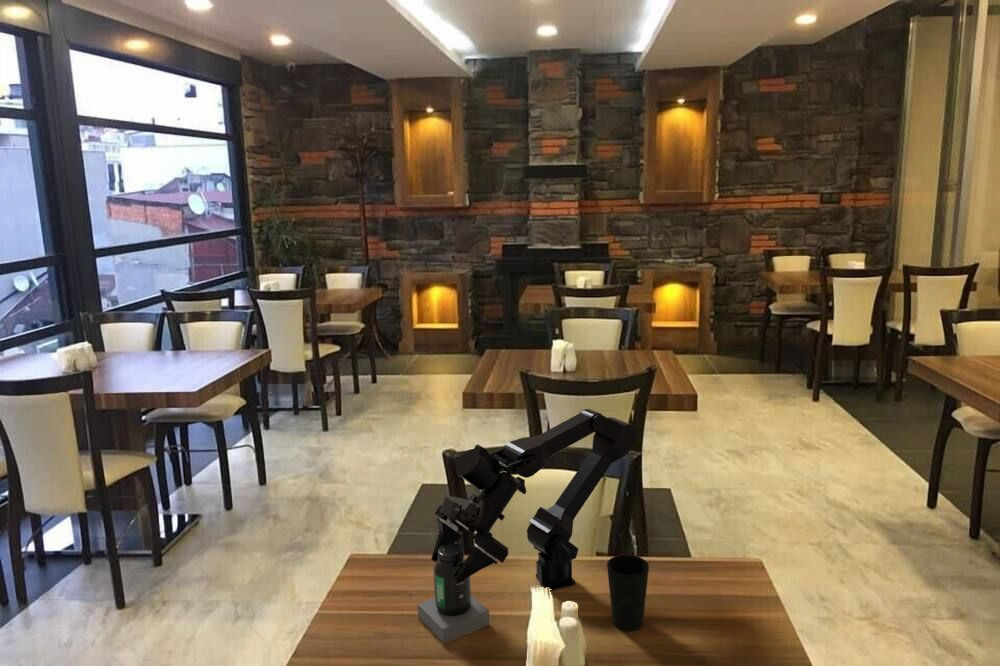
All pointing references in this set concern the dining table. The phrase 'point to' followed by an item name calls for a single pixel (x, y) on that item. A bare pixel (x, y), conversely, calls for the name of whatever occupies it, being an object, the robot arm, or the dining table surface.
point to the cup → (627, 590)
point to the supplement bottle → (451, 582)
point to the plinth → (453, 620)
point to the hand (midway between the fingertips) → (444, 570)
